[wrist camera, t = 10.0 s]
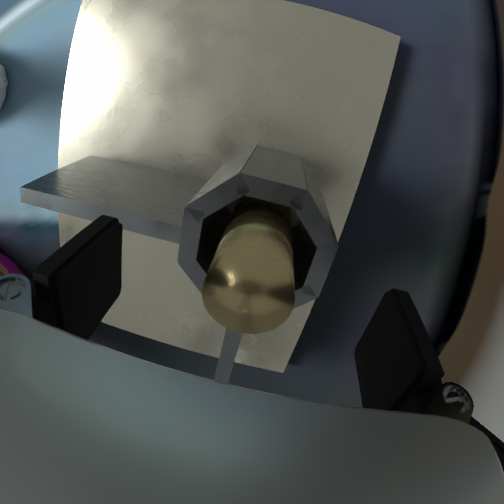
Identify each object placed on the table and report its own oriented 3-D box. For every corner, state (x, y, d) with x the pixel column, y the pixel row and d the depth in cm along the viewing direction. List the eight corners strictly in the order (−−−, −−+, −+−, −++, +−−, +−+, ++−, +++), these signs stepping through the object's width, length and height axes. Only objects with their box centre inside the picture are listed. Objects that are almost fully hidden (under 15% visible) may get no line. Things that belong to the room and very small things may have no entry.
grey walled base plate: (283, 362, 27) (278, 443, 20) (73, 301, 27) (26, 359, 19) (394, 39, 15) (456, 12, 7) (93, -5, 14) (15, -27, 7)
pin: (282, 228, 20) (279, 341, 11) (235, 216, 20) (196, 321, 11) (296, 183, 18) (307, 271, 10) (245, 170, 18) (209, 246, 10)
